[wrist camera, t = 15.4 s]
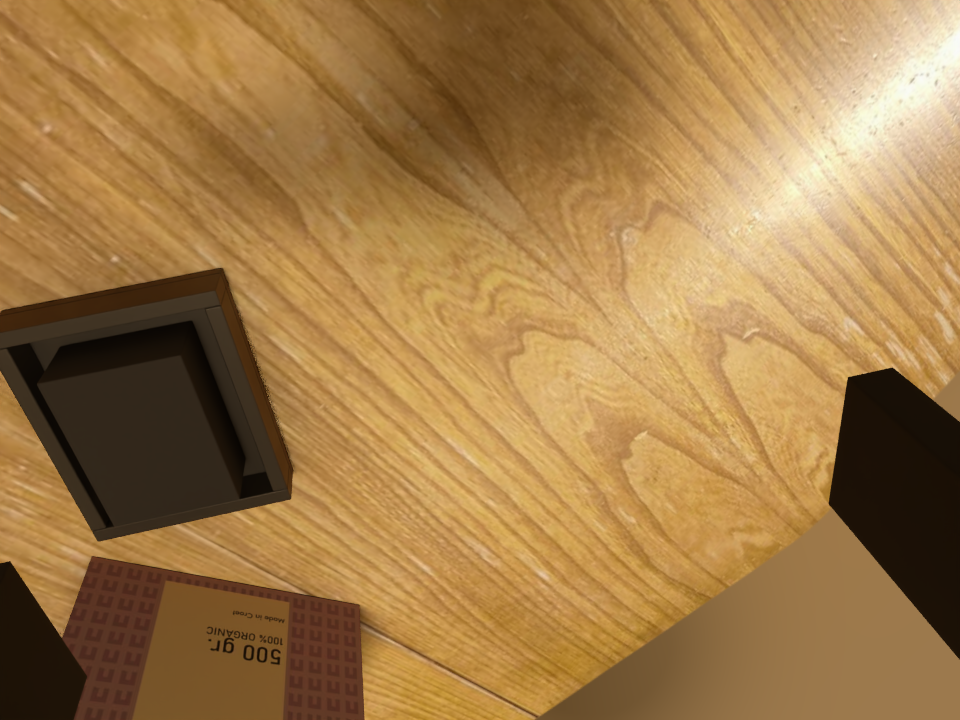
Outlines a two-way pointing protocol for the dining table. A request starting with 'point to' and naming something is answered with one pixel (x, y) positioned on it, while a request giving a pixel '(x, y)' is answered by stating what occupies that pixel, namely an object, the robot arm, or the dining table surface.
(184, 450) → the top pad
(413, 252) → the dining table surface
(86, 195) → the dining table surface
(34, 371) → the dark brown shallow tray
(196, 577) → the box
